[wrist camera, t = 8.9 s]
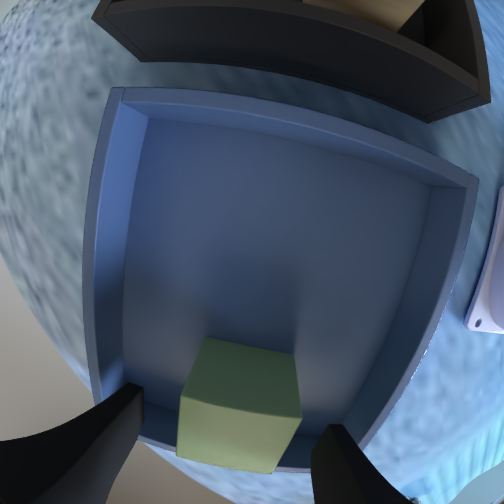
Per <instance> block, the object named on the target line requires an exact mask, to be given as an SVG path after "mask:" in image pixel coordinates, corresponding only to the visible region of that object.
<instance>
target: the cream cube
mask: <svg viewBox="0 0 504 504" xmlns="http://www.w3.org/2000/svg"><path fill="white" fill-rule="evenodd" d="M424 1H425V0H303V2H302V3H306V4H310V5H315V6H319V7H323V8H327V9H330V10H334V11H337V12H341V13H344V14H347V15H351V16H354V17H357V18H360V19H362V20H365V21H368V22H371V23H373V24H376V25H379V26H381V27H384V28H386V29H388V30H391V31H393V32H395V33H396V32H397V31H398V30H399V29H400V28H401V27H402V26H403V24H404V23H405V22H406V21H407V20H408V19H409V18H410V17H411V15H412V14H413V13H414V12H415V11H416V10H417V9H418V8H419V6H420V5H421V4H422V3H423V2H424Z"/></svg>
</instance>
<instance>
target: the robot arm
mask: <svg viewBox="0 0 504 504" xmlns="http://www.w3.org/2000/svg"><path fill="white" fill-rule="evenodd" d="M464 326H465V327H466V328H467V329H468V330H473V331H482V332H491V333H500V334H504V185H503V186H502V187H501V188H500V192H499V199H498V205H497V211H496V217H495V222H494V227H493V231H492V236H491V240H490V244H489V248H488V252H487V256H486V259H485V263H484V266H483V270H482V273H481V276H480V279H479V282H478V285H477V288H476V291H475V294H474V296H473V299H472V302H471V304H470V307H469V309H468V312H467V314H466V317H465V320H464ZM144 420H145V413H144V387H142V386H139V385H136V384H133V383H131V382H128V383H127V384H125V385H124V386H123V387H121V388H120V389H119V390H117V391H116V392H115V393H113V394H112V395H110V396H109V397H108V398H106V399H105V400H103V401H102V402H100V403H99V404H97V405H96V406H95V407H93V408H91V409H90V410H88V411H86V412H85V413H83V414H81V415H79V416H77V417H76V418H74V419H72V420H70V421H68V422H66V423H64V424H62V425H60V426H57V427H55V428H52V429H50V430H47V431H44V432H41V433H38V434H35V435H31V436H28V437H23V438H17V439H12V440H6V441H0V504H105V503H106V500H107V498H108V495H109V492H110V490H111V487H112V485H113V483H114V481H115V478H116V476H117V475H118V473H119V471H120V469H121V468H122V466H123V464H124V462H125V460H126V459H127V457H128V455H129V453H130V451H131V450H132V448H133V446H134V444H135V442H136V440H137V438H138V436H139V433H140V431H141V428H142V426H143V423H144ZM311 479H312V487H313V494H314V501H315V504H414V503H413V502H411V501H410V500H409V499H407V498H406V497H405V496H403V495H402V494H401V493H400V492H399V491H398V490H396V489H395V488H394V487H393V486H392V485H391V484H390V483H389V482H388V481H387V480H386V479H385V478H384V477H383V476H382V475H381V474H380V473H379V472H378V470H377V469H376V468H375V467H374V466H373V465H372V463H371V462H370V461H369V460H368V458H367V457H366V456H365V454H364V453H363V452H362V450H361V449H360V448H359V446H358V445H357V444H356V442H355V441H354V439H353V438H352V437H351V435H350V434H349V432H348V431H347V430H346V428H345V427H344V425H343V424H328V426H327V427H326V429H325V431H324V432H323V434H322V435H321V437H320V439H319V440H318V442H317V443H316V445H315V446H314V448H313V450H312V451H311Z"/></svg>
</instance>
